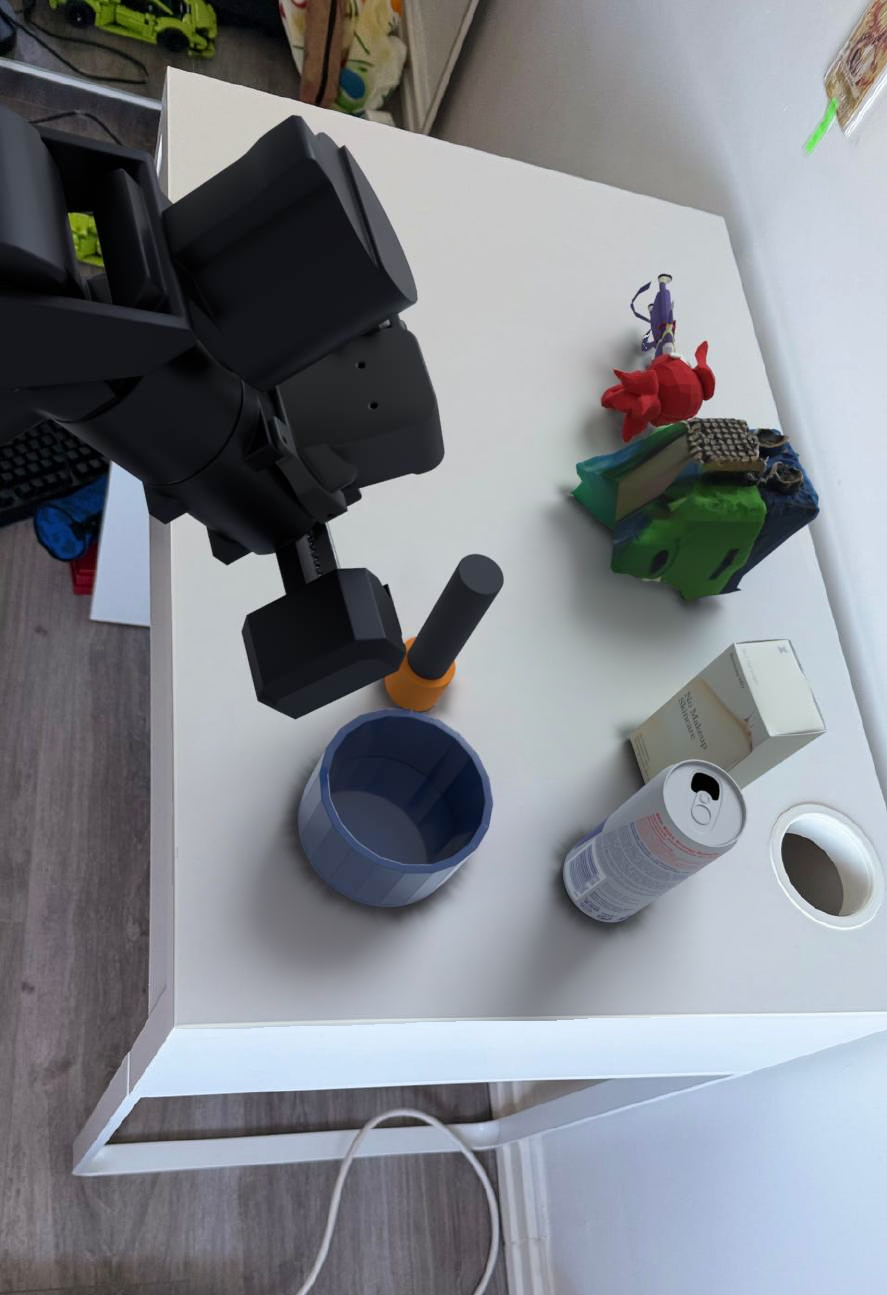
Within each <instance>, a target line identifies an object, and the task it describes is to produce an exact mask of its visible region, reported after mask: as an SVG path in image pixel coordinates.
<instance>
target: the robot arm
mask: <svg viewBox="0 0 887 1295" xmlns="http://www.w3.org/2000/svg"><path fill="white" fill-rule="evenodd" d="M90 212H91V213H92V218H93V220H94V222H93V223H94V226H95V231H96V235H97V240H98V245H99V250H100V254H101V260H102V265H103V268H104V272H101V273H98V274H96V275H94V276H91V275H90V274H82V275H81V271H80V265H79V261H78V256H77V251H76V246H75V240H74V237H73V230H72V226H71V221H70V216H69V214H76V213H90ZM418 299H419V297H418V289H417V285H416V282H415V278H414V275H413V272H412V268H411V266H410V263H409V261H408V259H407V256H406V254H405V251H404V249H403V247H402V244H401V242H400V239H399V238H398V235H397V233H396V231H395V229H394V227H393V224H392V222H391V221H390V218H389V216H388V214H387V212H386V210H385V209H384V207H383V205H382V203H381V201H380V199H379V198H378V195H377V193H376V192H375V190H374V188H373V187H372V184H371V183H370V181H369V180H368V178H367V176H366V175H365V173H364V171H363V169H362V168H361V166H360V165H359V162H357V160H356V159H355V157H354V155H353V154H352V152H350V150H349V148H348V147H347V146H346V144H343V145H342V146H340V147H339V145H338V144H337V143H336V142H335V141H334V139H333V138H332V137H330V136H329V135H328V134H327V133H325V132H324V131H319V132H318V133H316V134H315V133H314V132H313V131H312V129H311V127H310V126H309V124H307V122H306V120H305V119H304V118H303V116H301V115H297V114H292V115H291V114H290V116H288V117H287V118H285V119H284V120H282V121H281V122H280V123H278V124H276V125H275V126H274V127H272V128H270V129H269V130H268V131H266V132H265V133H264V134H263V135H262V136H260V137H259V138H258V139H257V140H256V141H255V142H254V144H253V145H252V146H251V147H249V149H248V150H247V151H246V152H245V153H244V154H243V155H241V157H239V158H238V159H236V160H235V161H234V162H232V163H231V164H229V165H227V166H226V167H225V168H224V169H222V170H221V171H219V172H218V173H216V174H215V175H213V176H212V177H210V178H209V179H207V180H206V181H204V182H203V183H201V184H200V185H199V186H197V187H196V188H194V189H193V190H191V191H190V192H188V193H186V194H185V195H184V196H182V197H181V198H179V200H176V201H175V202H174V203H173V201H171V199H170V198H169V197H168V196H167V195H166V194H165V193H164V192H163V191H162V188H161V184H160V180H159V175H158V171H157V167H156V164H155V159H154V157H153V156H152V154H151V153H149V152H148V151H146V150H143V149H138V148H133V147H130V146H126V145H121V144H118V143H114V142H108V141H105V140H100V139H97V138H93V137H89V136H85V135H81V134H78V133H77V134H76V133H72V132H68V131H64V130H60V129H56V128H52V127H48V126H44V125H41V124H37V123H31V122H29V121H27V120H26V119H25V118H24V117H23V116H22V115H20V114H19V113H17V112H15V111H14V110H12V109H10V108H9V107H6V106H5V105H3V104H1V103H0V447H4V446H6V445H8V444H9V443H11V442H12V441H14V440H16V439H17V438H19V437H21V436H22V435H24V434H25V433H27V432H29V431H30V430H31V429H33V428H34V427H36V426H38V425H39V424H41V423H43V422H44V421H47V420H52V421H54V422H55V423H57V424H58V425H60V426H61V427H62V428H64V429H65V430H67V431H68V432H70V433H71V434H72V435H74V436H75V437H77V438H78V439H80V440H82V441H83V443H85V444H87V445H88V446H89V447H91V448H93V449H94V450H96V451H97V452H98V453H100V454H102V455H103V456H104V457H106V458H107V459H109V461H111V462H113V464H115V465H117V466H119V467H120V468H122V469H123V470H124V471H126V472H127V473H129V475H132V476H133V477H134V478H136V479H137V480H138V481H140V482H141V483H142V488H143V491H144V492H143V493H144V498H145V502H146V507H147V511H148V515H150V516H151V517H153V518H154V519H156V520H157V521H159V522H160V523H162V524H163V525H164V526H166V525H167V524H169V523H171V522H173V521H175V520H177V519H178V518H180V517H182V516H183V515H186V514H188V515H189V516H190V517H192V518H193V519H194V520H196V521H198V522H199V523H201V524H202V525H203V526H205V528H206V532H207V537H208V542H209V545H210V549H211V554H212V557H213V558H215V559H216V560H218V561H219V562H221V563H222V564H224V565H225V566H229V565H231V564H233V563H235V562H236V561H238V560H241V559H242V558H245V557H246V556H248V555H249V554H251V553H254V554H255V555H257V556H268V555H273V554H275V557H276V560H277V561H276V562H277V565H278V570H279V574H280V577H281V581H282V585H283V589H284V595H282V596H280V597H279V598H276V599H275V600H272V601H271V602H269V603H267V604H264V605H263V606H261V607H259V608H257V609H255V610H253V611H251V612H250V613H247V614H246V615H245V619H244V622H243V625H242V628H241V631H240V633H241V636H242V640H243V645H244V650H245V653H246V657H247V663H248V666H249V671H250V675H251V680H252V683H253V688H254V692H255V697H256V700H257V702H258V703H261V704H262V705H265V706H266V707H268V708H271V709H272V710H274V711H276V712H278V713H281V714H283V715H285V716H287V717H288V718H291V719H293V720H295V721H296V720H298V719H300V718H302V717H305V716H306V715H308V714H311V713H312V712H315V711H317V710H319V709H321V708H324V707H325V706H327V705H329V704H332V703H334V702H336V701H338V700H340V699H342V698H345V697H346V696H348V695H351V694H352V693H354V692H358V691H359V690H362V689H363V688H366V687H367V686H370V685H371V684H374V683H376V682H378V681H380V680H383V679H385V677H386V676H389V675H391V674H393V673H395V672H397V671H399V668H400V666H401V664H402V662H403V660H404V658H405V656H406V654H407V649H406V646H405V644H404V643H405V642H404V639H403V632H402V631H403V630H402V627H401V624H400V619H399V616H398V612H397V610H396V606H395V603H394V599H393V596H392V595H393V594H392V592H391V589H390V585H389V583H385V584H382V582H381V581H380V578H379V577H378V576H377V575H376V574H374V573H373V572H372V571H371V570H369V569H368V568H367V567H347V568H346V567H343V568H342V567H341V565H340V561H339V557H338V553H337V550H336V546H335V542H334V538H333V536H332V531H331V528H330V524H329V522H330V521H332V520H334V519H336V518H338V517H340V516H342V515H343V514H345V513H347V512H349V509H348V507H350V506H353V505H354V504H356V503H358V502H359V501H361V500H362V498H363V494H362V491H361V489H363V488H367V487H370V486H373V485H377V484H380V483H384V482H388V481H391V480H395V479H397V478H400V477H401V478H402V477H405V476H409V475H417V476H418V475H423V474H426V473H428V472H431V471H433V470H434V469H436V468H437V467H438V466H439V465H440V464H441V463H442V462H443V459H444V458H445V454H446V453H445V452H446V450H445V443H444V437H443V435H444V434H443V430H442V424H441V423H442V422H441V415H440V409H439V403H438V398H437V394H436V391H435V388H434V385H433V382H432V379H431V376H430V372H429V370H428V366H427V363H426V361H425V357H424V355H423V352H422V349H421V345H420V343H419V339H418V338H417V336H416V334H414V333H413V332H412V331H411V330H409V329H408V327H407V323H406V322H405V321H404V320H403V319H401V317H400V314H401V313H402V312H404V311H405V310H408V309H409V308H410V307H412V306H414V305H416V304H417V302H418Z"/></svg>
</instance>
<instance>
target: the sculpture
mask: <svg viewBox="0 0 887 1295" xmlns="http://www.w3.org/2000/svg"><path fill="white" fill-rule="evenodd" d="M789 439H790V436H789V435H787V434H782V432H781V431H780V430H778V429H776V428H762V427H757V428H750V427H749V424H748V420H745V419H741V418H739V419H736V418H734V417H729V418H727V417H725V418H722V417H717V418H715V417H705V418H702V417H701V418H700V417H696V416H694V417H693V418H691V419H688V420H687V421H686V420H681V421H679V422H677V423H675V424H670V425H668V426H660V427H658V428H655V429H654V430H652V432H651V433H650V434H648V435H647V436H646V437H644V438H642V439H639V440H637V441H636V442H633V443H631V444H629V445H627V446H625V447H623V448H621V449H619V450H617V451H615V452H613V453H607V454H602V455H597V456H593V457H590V458H588V459H586V460H583V461H580V462H577V463H575V469H576V475H577V476H578V478H579V480H580V481H581V482H580V483H579V484H578V485H577V487H575V489H573V490H571V491H570V492H569V494H570V495H572V496H574V497H575V498H576V500H577V501H579V503H580V504H581V505H582V506H583V507H584V508H585V509H586V510H587V511H588V512H589V513H590V514H591V515H592V516H593V517H594V518H595V519H596V520H597V521H598V522H600V523H601V524H603V525H604V526H605V527H607V528H608V529H609V530H611V531H612V532H613V538H612V547H611V558H610V564H609V570H610V571H612V573H614V575H627V576H629V577H633V578H635V579H638V580H642V581H644V582H652V581H654V582H657V583H663V582H666V583H667V584H668V585H669V586H670V587H671V588H674V589H676V590H678V591H679V593H680V594H681V596H682V597H683V598H684V600H686V601H687V602H688V601H691V600H695V599H701V598H707V597H714V596H721V595H728V594H731V593H736V592H740V591H742V589H741V588H739V587H738V586H739V585H740V583H741V581H742V579H743V578H744V577H745V575H747V574H748V573H749V572H751V570H753V569H754V568H755V567H756V566H757V565H759V564H760V563H761V562H763V560H764V559H766V558H767V557H769V556H770V555H771V554H772V553H773V552H774V551H775V550H777V549H778V548H780V546H781V545H783V544H784V543H785V542H786V541H788V539H789V538H791V537H792V536H793V535H794V534H796V533H797V532H799V531H800V530H802V529H803V528H805V526H807V525H809V524H810V523H812V522H813V521H814V520H815V519H817V517H818V515H819V514H820V510H821V509H820V507H819V501H820V497H819V494H818V492H817V491H816V489H815V488H814V485H813V483H812V481H811V479H810V478H809V477H808V475H807V473H806V469H805V468H804V467H803V465H802V464H801V462H800V459H799V456H800V454H799V453H798V452H796V451H795V450H794V448H793V446H792V445H791V443H790V441H789Z"/></svg>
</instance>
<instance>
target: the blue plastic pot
mask: <svg viewBox="0 0 887 1295" xmlns="http://www.w3.org/2000/svg"><path fill="white" fill-rule="evenodd" d="M309 777H310V778H309V779H308V780H307V783H306V785H305V786H304V790H303V793H302V796H301V799H300V801H299V806H298V811H297V829H298V837H299V840H300V844H301V847H302V850H303V852H304V854H305V857H306V858H307V860H308V862H309V864H310V865H311V867H312V868H313V869H314V871H315V872H316V873H317V875H318V876H319V877H320V878H321V879H322V881H324V882H325V883H326V884H327V885H329V886H330V887H331V889H333V890H334V891H337V892H338V893H339V894H340V895H342V896H345V897H347V898H348V899H350V900H352V901H354V902H358V903H360V904H363V905H367V906H372V907H381V908H396V907H401V906H402V907H403V906H407V905H410V904H413V903H416V902H419V901H421V900H423V899H425V898H426V897H428V896H430V895H431V894H432V893H434V892H435V891H436V890H437V889H439V888H440V887H441V886H442V885H443V884H444V883H446V881H448V880H449V879H450V878H451V876H453V875H454V873H456V871H457V870H458V869H459V868H460V867H461V866H462V865H463V864H464V863H465V862H466V861H467V860H468V859H469V858H470V857H471V856H472V855H473V854H474V852H476V851H477V849H478V848H479V847H480V844H481V843H482V842H483V839H484V838H485V836H486V834H487V832H488V831H489V830H490V825H491V820H492V819H491V818H492V813H493V808H494V799H493V791H492V785H491V780H490V776H489V774H488V771H487V769H486V768H485V766H484V764H483V761H482V760H481V757H480V755H479V754H478V752H477V751H476V750H475V749H474V748H473V746H471V744H470V743H469V742H468V741H467V740H466V738H464V737H463V735H462V734H461V733H459V732H458V731H457V730H455V729H454V728H452V727H451V726H449V725H448V724H446V723H445V722H443V721H442V720H441V719H439V718H437V717H434V716H431V715H428V714H427V713H423V712H421V711H414V710H407V709H404V708H382V709H377V710H373V711H370V712H366V713H362V714H359V715H358V716H356V717H355V718H353V719H352V720H350V721H349V722H347V723H345V725H343V726H342V727H340V728H339V729H338V731H337V732H336V733H335V735H334V736H333V738H332V739H331V740H330V742H329V743H328V744H327V746H326V747H325V749H324V751H323V753H322V754H321V757H320V759H319V760H318V762H317V764H316V766H315V767H314V769H313V772H312V774H311V775H310V776H309Z"/></svg>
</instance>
